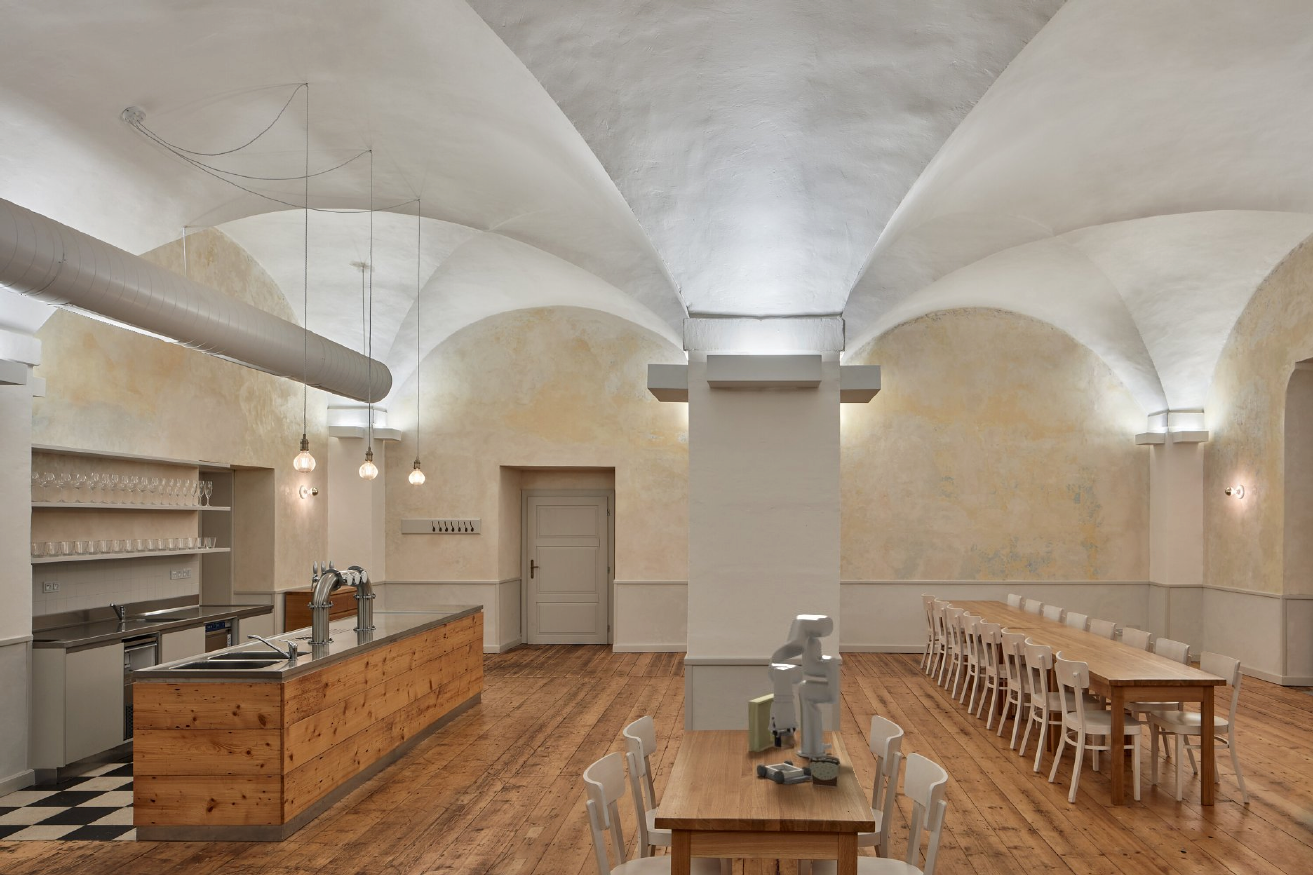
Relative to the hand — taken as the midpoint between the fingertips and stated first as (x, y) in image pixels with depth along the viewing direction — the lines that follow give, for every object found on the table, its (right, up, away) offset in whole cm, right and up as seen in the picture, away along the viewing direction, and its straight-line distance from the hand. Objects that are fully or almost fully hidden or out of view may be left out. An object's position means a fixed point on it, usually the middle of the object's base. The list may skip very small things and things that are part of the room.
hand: (783, 745), depth 366 cm
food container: (+15, -11, -11) cm, 22 cm away
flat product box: (+2, -18, +56) cm, 59 cm away
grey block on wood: (0, -1, 0) cm, 1 cm away
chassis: (0, -12, -1) cm, 12 cm away
